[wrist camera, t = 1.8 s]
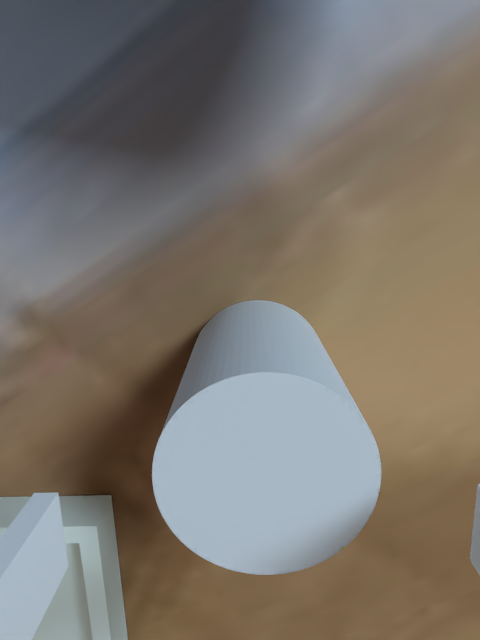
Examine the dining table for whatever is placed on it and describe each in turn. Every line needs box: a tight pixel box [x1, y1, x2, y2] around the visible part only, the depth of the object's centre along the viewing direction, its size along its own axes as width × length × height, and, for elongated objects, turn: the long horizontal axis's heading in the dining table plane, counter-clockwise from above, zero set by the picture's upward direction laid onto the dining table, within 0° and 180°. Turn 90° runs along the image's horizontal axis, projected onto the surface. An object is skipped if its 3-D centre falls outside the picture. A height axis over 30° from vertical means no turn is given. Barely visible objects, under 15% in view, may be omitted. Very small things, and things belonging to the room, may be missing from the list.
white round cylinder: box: [152, 300, 381, 575], centre depth 22 cm, size 8×8×12 cm
